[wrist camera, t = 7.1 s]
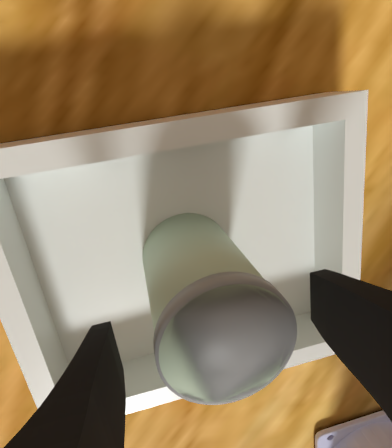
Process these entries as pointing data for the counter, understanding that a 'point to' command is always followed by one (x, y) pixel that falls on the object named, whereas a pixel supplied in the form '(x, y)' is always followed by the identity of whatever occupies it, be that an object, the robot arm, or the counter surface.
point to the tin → (212, 313)
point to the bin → (167, 207)
